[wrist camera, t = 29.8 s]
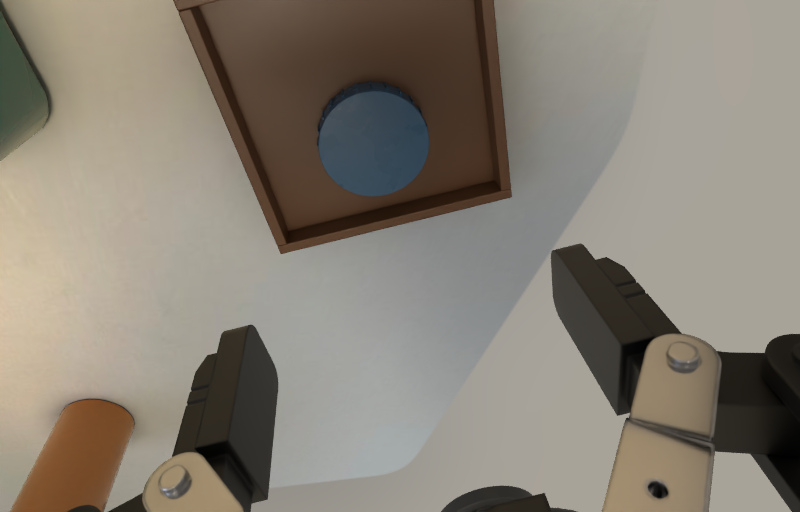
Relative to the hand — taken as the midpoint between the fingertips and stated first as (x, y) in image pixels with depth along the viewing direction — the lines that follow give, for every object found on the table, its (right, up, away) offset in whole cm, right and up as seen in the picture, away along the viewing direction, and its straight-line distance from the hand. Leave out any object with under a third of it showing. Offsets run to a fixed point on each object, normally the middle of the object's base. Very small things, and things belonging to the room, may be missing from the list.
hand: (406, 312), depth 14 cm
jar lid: (-2, +8, +14) cm, 16 cm away
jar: (-23, -11, +26) cm, 36 cm away
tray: (-2, +10, +14) cm, 18 cm away
